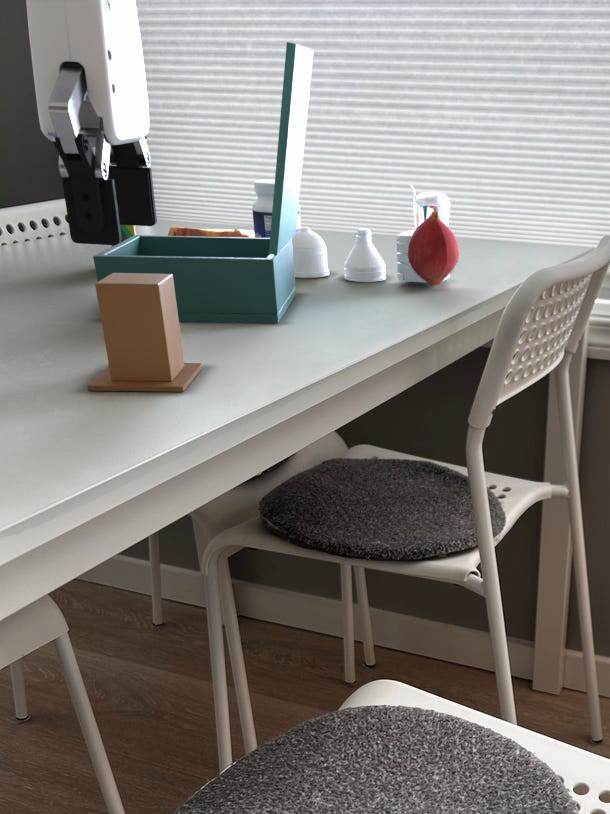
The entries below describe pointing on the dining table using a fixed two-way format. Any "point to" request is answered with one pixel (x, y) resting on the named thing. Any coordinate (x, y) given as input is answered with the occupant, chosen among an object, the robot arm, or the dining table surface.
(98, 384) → the mat
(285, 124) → the lunchbox lid
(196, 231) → the bread slice
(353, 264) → the container set
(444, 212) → the milkshake
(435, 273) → the onion
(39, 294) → the dining table surface
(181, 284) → the box
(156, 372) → the carton
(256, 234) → the pill bottle
